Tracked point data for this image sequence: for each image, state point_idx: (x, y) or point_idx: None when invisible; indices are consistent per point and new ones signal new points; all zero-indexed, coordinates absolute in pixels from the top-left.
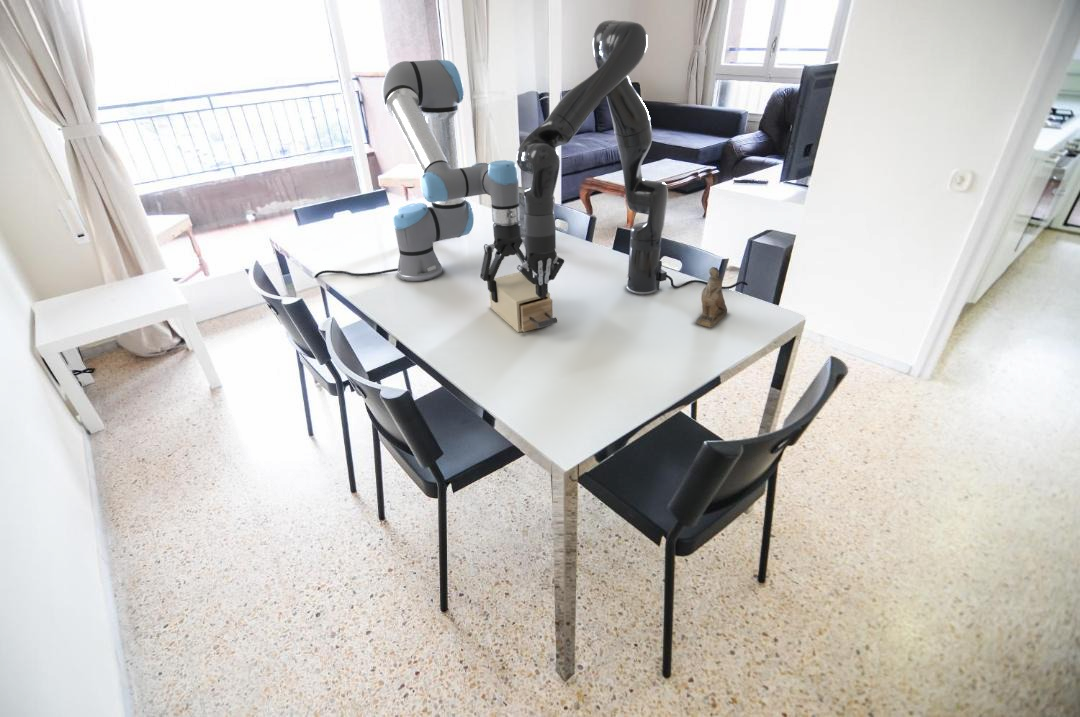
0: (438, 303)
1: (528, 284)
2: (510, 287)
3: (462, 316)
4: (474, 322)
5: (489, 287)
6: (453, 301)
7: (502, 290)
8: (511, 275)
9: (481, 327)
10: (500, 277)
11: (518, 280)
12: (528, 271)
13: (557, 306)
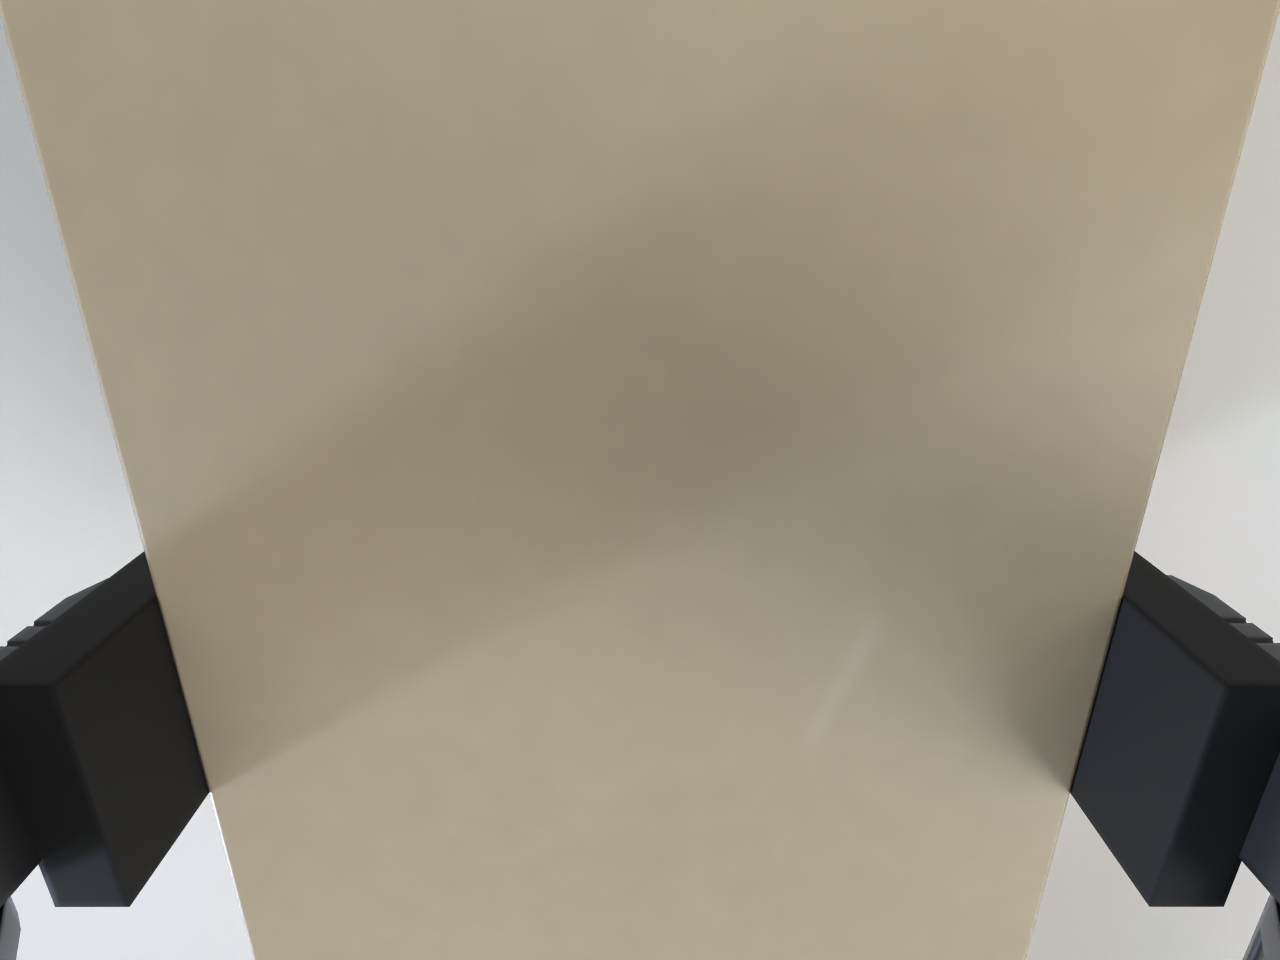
0: (1211, 953)
1: (290, 200)
2: (881, 309)
3: (1232, 593)
4: (1236, 371)
5: (1266, 645)
6: (1073, 924)
7: (1206, 237)
8: (486, 921)
9: (1269, 177)
10: (749, 943)
11: (455, 614)
12: (5, 794)
13: (18, 173)
